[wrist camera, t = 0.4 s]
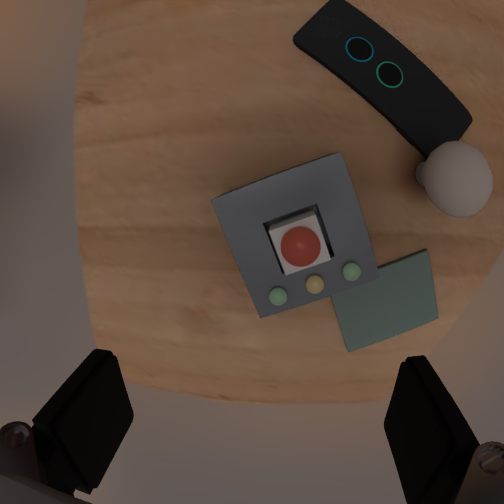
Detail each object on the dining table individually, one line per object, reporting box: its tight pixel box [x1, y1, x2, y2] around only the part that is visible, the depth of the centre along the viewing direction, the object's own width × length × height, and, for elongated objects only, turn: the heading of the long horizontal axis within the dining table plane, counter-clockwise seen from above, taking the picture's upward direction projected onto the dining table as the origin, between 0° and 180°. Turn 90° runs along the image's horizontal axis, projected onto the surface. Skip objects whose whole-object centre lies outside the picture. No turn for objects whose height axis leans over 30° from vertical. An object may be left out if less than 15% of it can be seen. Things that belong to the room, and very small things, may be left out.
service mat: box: [331, 249, 438, 352], centre depth 33 cm, size 12×9×1 cm
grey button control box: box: [211, 152, 380, 318], centre depth 30 cm, size 12×12×6 cm
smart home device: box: [293, 0, 472, 159], centre depth 26 cm, size 8×2×20 cm
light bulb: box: [415, 141, 493, 217], centre depth 24 cm, size 7×7×11 cm
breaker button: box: [269, 209, 331, 275], centre depth 27 cm, size 4×4×4 cm
